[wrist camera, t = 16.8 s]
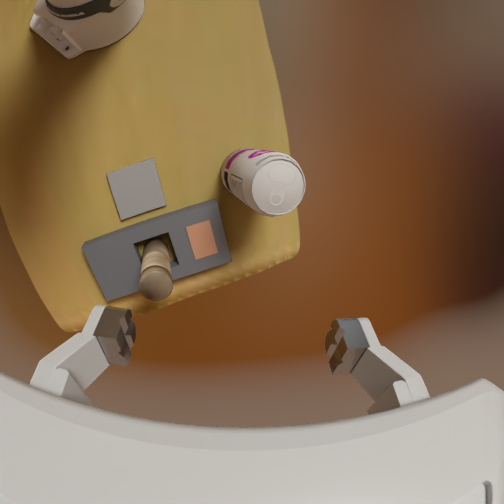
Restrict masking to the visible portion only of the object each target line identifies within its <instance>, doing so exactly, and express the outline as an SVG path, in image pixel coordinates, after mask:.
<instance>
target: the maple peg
mask: <svg viewBox="0 0 504 504" xmlns="http://www.w3.org/2000/svg"><path fill="white" fill-rule="evenodd" d="M139 288H140V291H141V293H142V294H143V295H144V296H145V297H146V298H148V299H150V300H154V301H159V300H163V299H165V298H167V297H168V296H169V295H170V294H171V292H172V289H173V282H172V276H171V268H170V258H169V248H168V244H167V243H166V241H165V240H163V239H162V238H159V237H154V238H151V239H149V240H148V241H147V242H146V243H145V245H144V251H143V259H142V267H141V275H140V282H139Z"/></svg>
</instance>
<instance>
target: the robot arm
mask: <svg viewBox="0 0 504 504" xmlns="http://www.w3.org/2000/svg"><path fill="white" fill-rule="evenodd" d="M143 10H144V0H38V1H37V2H36V4H35V7H34V15H33V17H32V20H31V23H30V27H31V29H32V30H34V31H35V32H36V33H37V34H38V35H40V36H41V37H42V38H43V39H44V40H46V41H47V42H48V43H49V44H50V45H51V46H53V47H54V48H55V49H56V50H57V51H59V52H60V53H61V54H62V55H63V56H64V57H66V58H67V59H72V58H75V57H76V56H78V55H80V54H82V53H83V52H85V51H88V50H93V49H98V48H102V47H105V46H108V45H110V44H112V43H114V42H116V41H118V40H119V39H121V38H123V37H124V36H125V35H127V34H128V33H129V32H130V31H131V30H132V29H133V28H134V27H135V26H136V24H137V23H138V22H139V20H140V18H141V16H142V14H143ZM68 47H69V49H68V50H67V51H66V49H67V48H68ZM131 318H132V313H131V310H129V309H124V308H118V307H111V306H104V305H98V304H97V305H95V306H94V308H93V310H92V312H91V314H90V316H89V318H88V320H87V322H86V324H85V326H84V328H83V331H82V333H78V334H76V335H74V336H73V337H72V338H70V339H69V340H68V341H66V342H65V343H63V344H62V345H60V346H59V347H58V348H56V349H55V350H54V351H52V352H51V353H49V354H48V355H47V356H46V357H44V358H43V359H41V360H40V361H39V364H38V366H37V368H36V370H35V373H34V375H33V377H32V380H31V382H30V385H28V384H26V383H24V382H21V381H19V380H17V379H15V378H12V377H10V376H8V375H6V374H4V373H2V372H0V504H504V392H503V391H502V390H501V389H499V388H498V387H497V386H495V385H494V384H493V383H491V382H489V381H488V380H486V379H482V378H481V379H478V380H475V381H473V382H471V383H469V384H466V385H464V386H461V387H459V388H456V389H454V390H451V391H449V392H446V393H443V394H440V395H438V396H435V397H432V398H430V396H429V394H428V391H427V389H426V387H425V384H424V382H423V380H422V377H421V375H420V374H418V373H417V372H416V371H415V370H413V369H412V368H411V367H410V366H408V365H407V364H406V363H404V362H403V361H402V360H401V359H399V358H398V357H397V356H396V355H394V354H393V353H392V352H391V351H389V350H388V349H387V348H385V347H384V346H381V345H380V344H379V341H378V339H377V336H376V334H375V332H374V330H373V328H372V325H371V323H370V321H369V319H367V318H356V319H355V318H350V319H334V320H333V321H332V323H331V328H332V329H331V330H330V331H329V332H327V335H326V338H325V350H326V353H327V354H328V355H329V356H330V357H331V359H330V361H329V364H330V368H331V372H332V375H334V374H348V373H350V375H351V376H352V377H353V378H354V379H355V380H356V381H357V382H358V383H359V384H360V386H361V387H362V388H363V389H364V390H365V391H366V392H367V393H368V394H369V395H370V396H371V397H372V399H373V400H374V401H375V403H374V404H373V405H372V406H371V407H370V408H369V409H368V411H367V412H368V415H364V416H359V417H354V418H348V419H342V420H336V421H329V422H321V423H312V424H303V425H291V426H273V427H219V426H202V425H191V424H180V423H171V422H164V421H158V420H151V419H145V418H139V417H134V416H129V415H124V414H120V413H115V412H111V411H107V410H102V409H98V408H95V407H91V401H90V399H89V398H88V397H87V396H86V394H85V393H84V392H83V391H84V390H85V389H86V388H87V387H88V386H89V385H90V384H91V383H92V382H93V381H94V380H95V379H96V378H97V377H98V376H99V375H100V374H101V373H102V372H103V371H104V370H105V369H106V368H107V367H108V366H109V364H113V365H120V366H128V364H129V361H130V357H131V351H130V348H131V347H132V346H134V343H135V340H136V327H135V323H133V321H131Z"/></svg>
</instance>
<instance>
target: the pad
mask: <svg viewBox="0 0 504 504" xmlns="http://www.w3.org/2000/svg"><path fill="white" fill-rule="evenodd" d="M107 177H108V181H109V184H110V187H111V191H112V194H113V197H114V200H115V203H116V206H117V209H118V212H119V215H120V218H121V220H123V219H126V218H129V217H132V216H135V215H138V214H140V213H143V212H146V211H149V210H152V209H155V208H159V207H162V206H165V205H166V202H165V198H164V195H163V191H162V188H161V184H160V180H159V177H158V173H157V169H156V166H155V162H154V158H152V159H148V160H145V161H142V162H139V163H136V164H133V165H130V166H128V167H125V168H122V169H119V170H116V171H114V172H111V173H108V174H107Z"/></svg>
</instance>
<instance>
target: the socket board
mask: <svg viewBox="0 0 504 504" xmlns="http://www.w3.org/2000/svg"><path fill="white" fill-rule="evenodd" d="M167 232H169V235H170V238H171V241H172V244H173V247H174V250H175V253H176V256H177V259H178V260H175V261H172V262H170V268H171V276H172V281H173V280H176V279H179V278H182V277H185V276H188V275H191V274H195V273H198V272H201V271H204V270H207V269H210V268H213V267H216V266H219V265H222V264H225V263H229V262H232V259H231V255H230V251H229V247H228V243H227V239H226V235H225V231H224V227H223V223H222V218H221V214H220V210H219V206H218V202H217V201H216V200H215V199H213V200H209V201H206V202H202V203H199V204H196V205H192V206H189V207H186V208H182V209H179V210H176V211H173V212H170V213H167V214H163V215H160V216H157V217H154V218H151V219H148V220H145V221H142V222H139V223H136V224H133V225H131V226H128V227H125V228H122V229H119V230H116V231H114V232H111V233H108V234H105V235H103V236H100V237H97V238H95V239H92V240H89V241H87V242H85V243H84V244H83V246H82V250H83V252H84V254H85V257H86V259H87V261H88V263H89V266H90V268H91V270H92V272H93V274H94V276H95V278H96V280H97V283H98V285H99V287H100V289H101V291H102V293H103V294H104V296H105V298H106V300H107V301H111V300H114V299H117V298H120V297H123V296H126V295H129V294H132V293H136V292H139V291H140V288H139V282H140V275H141V267H142V258H141V255H140V252H139V250H138V247H137V245H136V243H137V242H140V241H143V240H146V239H149V238H152V237H155V236H158V235H161V234H164V233H167Z"/></svg>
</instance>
